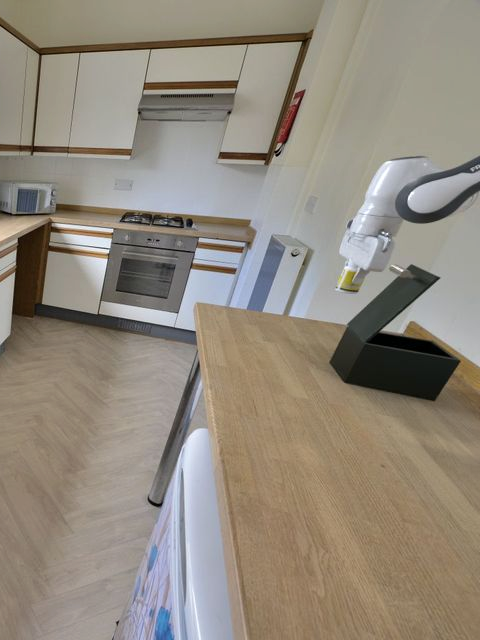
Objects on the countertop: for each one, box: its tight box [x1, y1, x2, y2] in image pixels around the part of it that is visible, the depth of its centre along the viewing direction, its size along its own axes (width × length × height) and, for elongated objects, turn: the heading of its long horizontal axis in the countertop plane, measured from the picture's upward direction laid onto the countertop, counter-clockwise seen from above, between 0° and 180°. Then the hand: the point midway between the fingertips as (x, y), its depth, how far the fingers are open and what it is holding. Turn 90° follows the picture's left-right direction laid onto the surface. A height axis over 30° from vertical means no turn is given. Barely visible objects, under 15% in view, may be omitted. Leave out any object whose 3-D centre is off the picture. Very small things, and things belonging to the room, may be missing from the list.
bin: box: [329, 326, 462, 402], centre depth 91 cm, size 16×11×10 cm
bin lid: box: [346, 263, 442, 343], centre depth 88 cm, size 16×11×4 cm
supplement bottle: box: [334, 259, 366, 295], centre depth 108 cm, size 5×5×8 cm
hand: (350, 280), depth 108 cm, fingers closed on supplement bottle, 5 cm apart
